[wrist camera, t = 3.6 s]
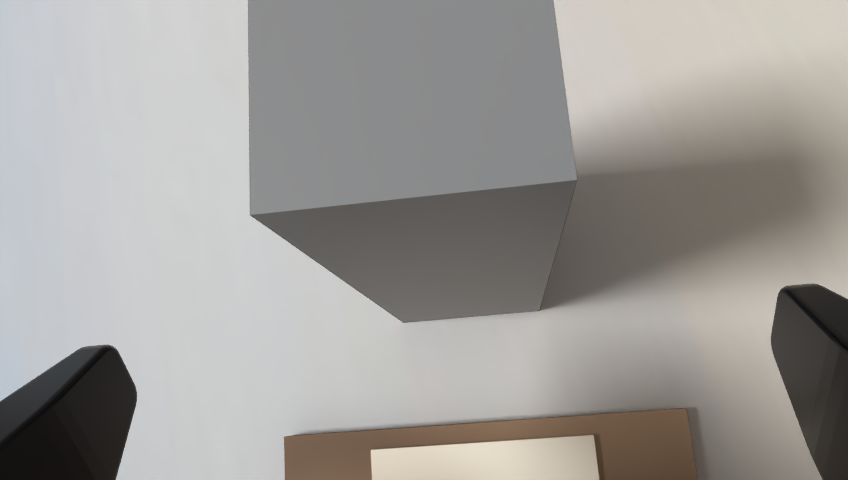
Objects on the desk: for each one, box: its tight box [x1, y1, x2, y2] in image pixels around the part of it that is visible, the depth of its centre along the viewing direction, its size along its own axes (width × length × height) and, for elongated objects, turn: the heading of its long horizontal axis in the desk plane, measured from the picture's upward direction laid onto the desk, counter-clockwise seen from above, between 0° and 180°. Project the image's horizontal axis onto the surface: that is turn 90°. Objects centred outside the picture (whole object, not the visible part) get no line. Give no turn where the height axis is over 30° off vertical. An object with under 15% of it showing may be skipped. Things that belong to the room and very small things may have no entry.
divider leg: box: [248, 0, 577, 323], centre depth 14 cm, size 4×4×12 cm
